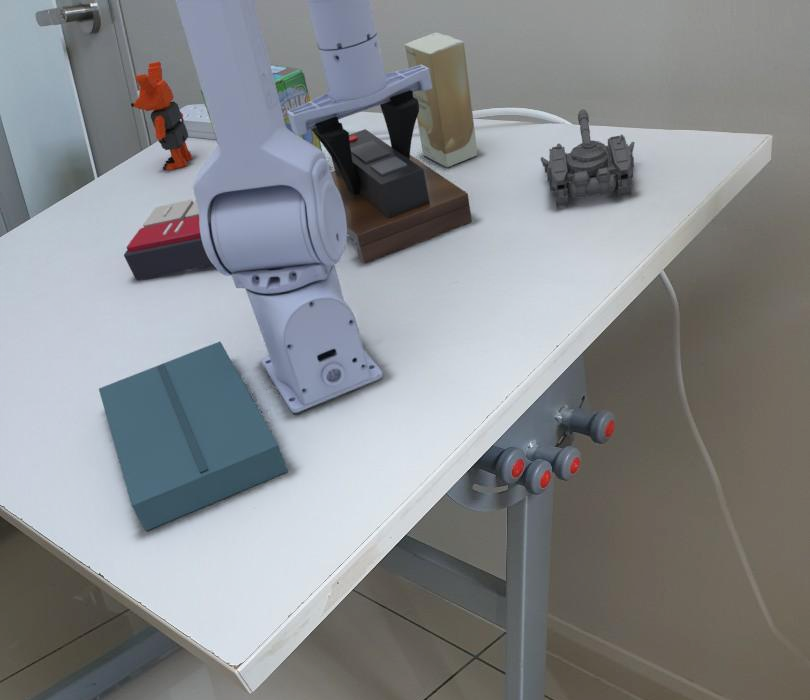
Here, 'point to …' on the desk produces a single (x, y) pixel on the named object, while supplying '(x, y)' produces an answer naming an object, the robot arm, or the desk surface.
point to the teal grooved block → (188, 435)
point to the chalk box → (290, 96)
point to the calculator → (168, 242)
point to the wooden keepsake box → (403, 217)
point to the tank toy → (590, 166)
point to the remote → (386, 175)
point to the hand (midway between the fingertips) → (378, 182)
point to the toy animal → (163, 115)
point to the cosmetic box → (444, 99)
